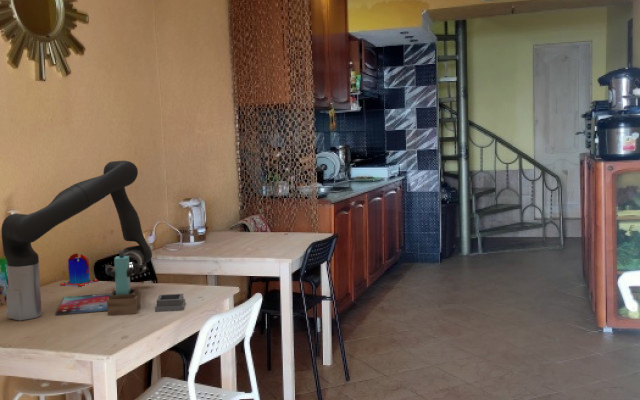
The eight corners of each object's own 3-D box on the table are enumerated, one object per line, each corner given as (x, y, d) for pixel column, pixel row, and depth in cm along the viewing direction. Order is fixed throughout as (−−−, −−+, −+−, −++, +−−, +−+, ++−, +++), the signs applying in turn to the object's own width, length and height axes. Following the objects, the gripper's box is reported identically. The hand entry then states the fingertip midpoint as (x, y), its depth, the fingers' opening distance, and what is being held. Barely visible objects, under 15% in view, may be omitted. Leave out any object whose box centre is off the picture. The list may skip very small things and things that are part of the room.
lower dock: (183, 310, 211) (182, 300, 210) (155, 311, 210) (154, 301, 209) (185, 303, 220) (184, 293, 219) (158, 304, 219) (158, 294, 218)
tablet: (119, 294, 235) (119, 292, 235) (116, 311, 211) (116, 309, 211) (63, 298, 230) (63, 296, 230) (54, 317, 206) (54, 314, 206)
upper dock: (136, 313, 207) (135, 295, 207) (107, 315, 206) (106, 296, 206) (140, 306, 216) (139, 288, 216) (113, 307, 215) (112, 289, 214)
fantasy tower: (101, 280, 256) (99, 251, 254) (82, 287, 244) (81, 256, 243) (76, 279, 259) (74, 250, 258) (56, 286, 248) (55, 255, 246)
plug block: (128, 294, 209) (126, 251, 207) (115, 294, 208) (113, 251, 207) (130, 291, 213) (128, 248, 211) (118, 291, 212) (116, 249, 211)
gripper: (108, 253, 223) (97, 263, 206) (150, 252, 224) (142, 262, 207) (109, 274, 223) (98, 286, 206) (150, 273, 225) (143, 284, 208)
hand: (120, 274), depth 207 cm, fingers closed on plug block, 4 cm apart
